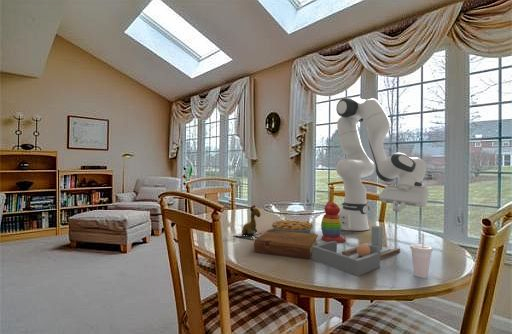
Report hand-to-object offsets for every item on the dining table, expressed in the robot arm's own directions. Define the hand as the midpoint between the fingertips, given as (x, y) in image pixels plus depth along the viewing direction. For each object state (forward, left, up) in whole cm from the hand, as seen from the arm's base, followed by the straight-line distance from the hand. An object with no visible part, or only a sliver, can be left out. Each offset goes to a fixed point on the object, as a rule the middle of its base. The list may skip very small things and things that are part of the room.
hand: (396, 210), depth 127 cm
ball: (0, -25, -13) cm, 28 cm away
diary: (-25, -42, -16) cm, 52 cm away
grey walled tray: (0, -36, -15) cm, 39 cm away
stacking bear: (-23, -15, -16) cm, 32 cm away
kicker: (0, -15, -15) cm, 22 cm away
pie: (-46, -19, -16) cm, 52 cm away
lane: (0, -19, -15) cm, 25 cm away
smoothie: (+22, -26, -16) cm, 38 cm away
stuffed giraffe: (-54, -41, -16) cm, 70 cm away
